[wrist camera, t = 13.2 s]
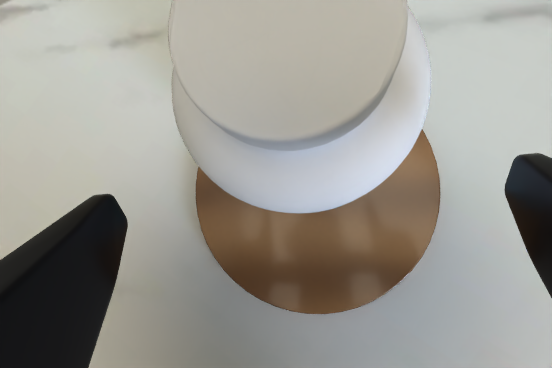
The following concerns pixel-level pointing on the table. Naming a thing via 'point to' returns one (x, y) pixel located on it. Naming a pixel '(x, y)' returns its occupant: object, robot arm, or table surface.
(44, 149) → the table surface
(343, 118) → the pill bottle
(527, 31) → the table surface
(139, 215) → the table surface
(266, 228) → the disc
